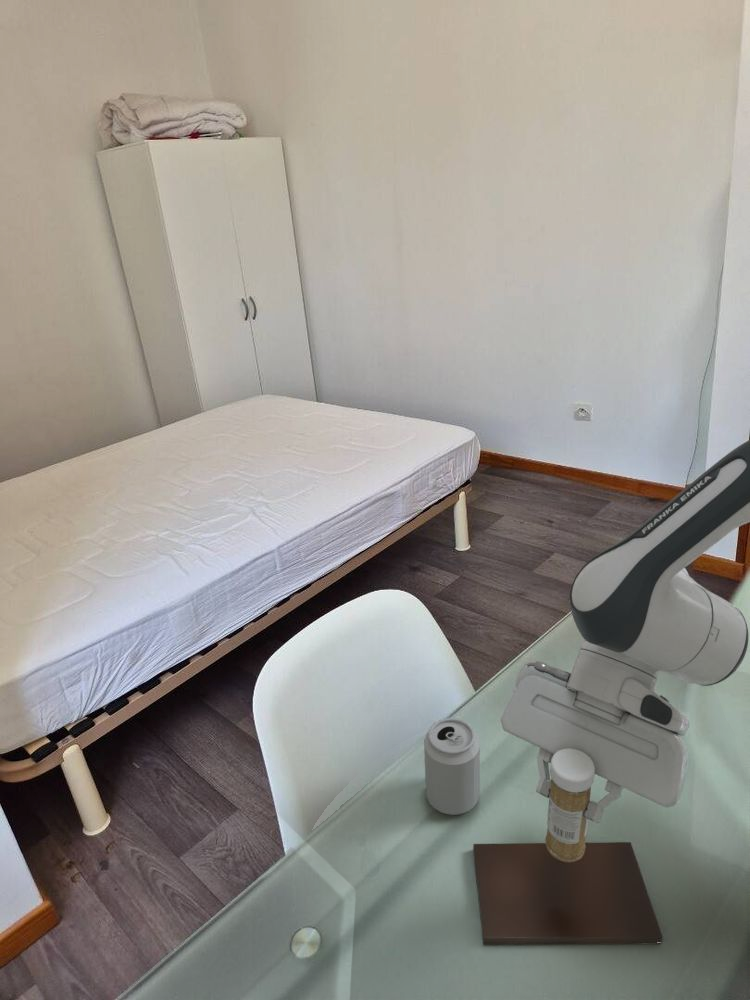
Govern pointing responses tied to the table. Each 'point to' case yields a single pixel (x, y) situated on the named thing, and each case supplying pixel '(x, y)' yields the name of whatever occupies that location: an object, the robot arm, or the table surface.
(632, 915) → the walnut board
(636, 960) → the table surface
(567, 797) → the spice jar
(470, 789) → the can
